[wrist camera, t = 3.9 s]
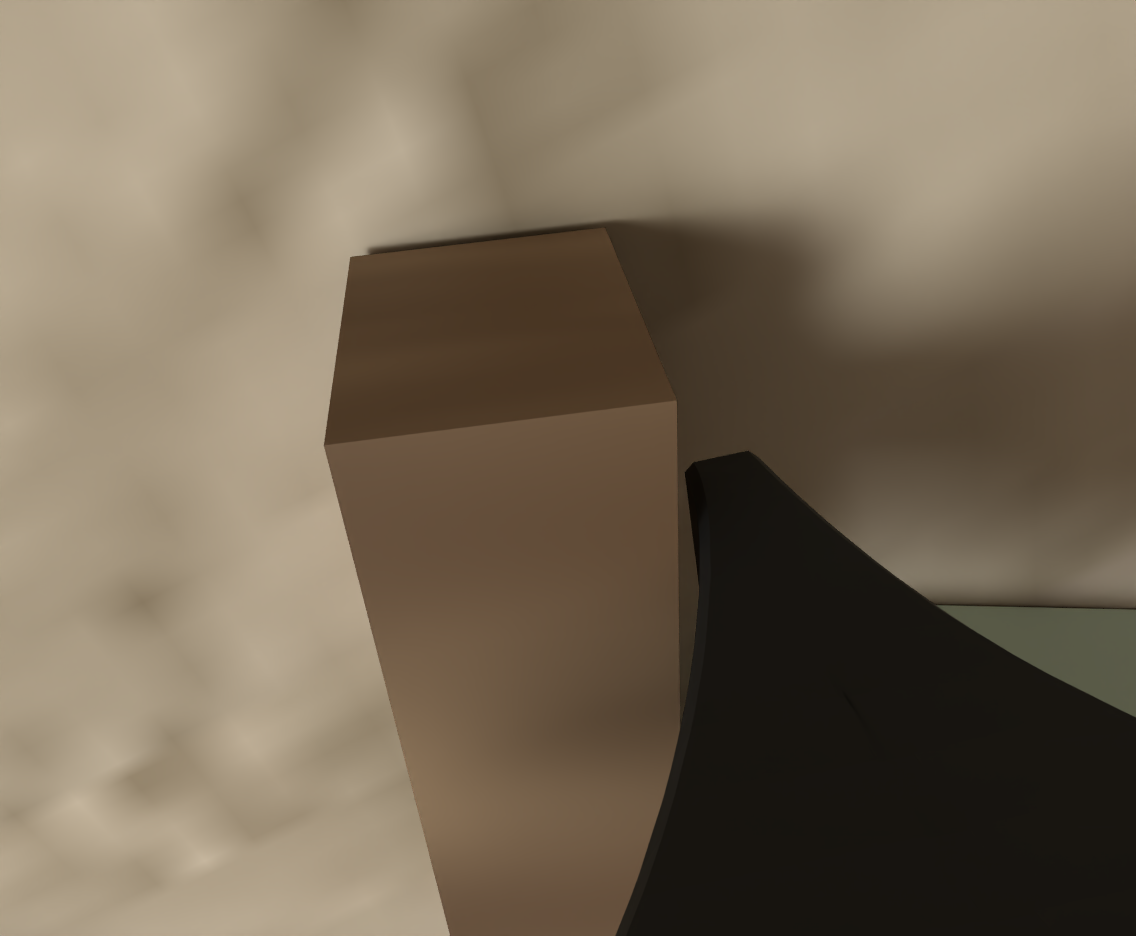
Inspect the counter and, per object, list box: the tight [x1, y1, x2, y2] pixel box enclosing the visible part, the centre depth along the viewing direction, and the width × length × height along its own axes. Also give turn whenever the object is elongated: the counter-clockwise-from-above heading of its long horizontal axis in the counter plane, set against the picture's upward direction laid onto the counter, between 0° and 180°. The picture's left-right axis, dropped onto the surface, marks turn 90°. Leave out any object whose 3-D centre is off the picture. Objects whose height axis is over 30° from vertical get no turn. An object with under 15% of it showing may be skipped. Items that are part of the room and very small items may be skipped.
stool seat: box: [936, 605, 1136, 717], centre depth 19 cm, size 10×10×2 cm
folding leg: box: [324, 227, 680, 936], centre depth 15 cm, size 17×3×4 cm, turn 4°
